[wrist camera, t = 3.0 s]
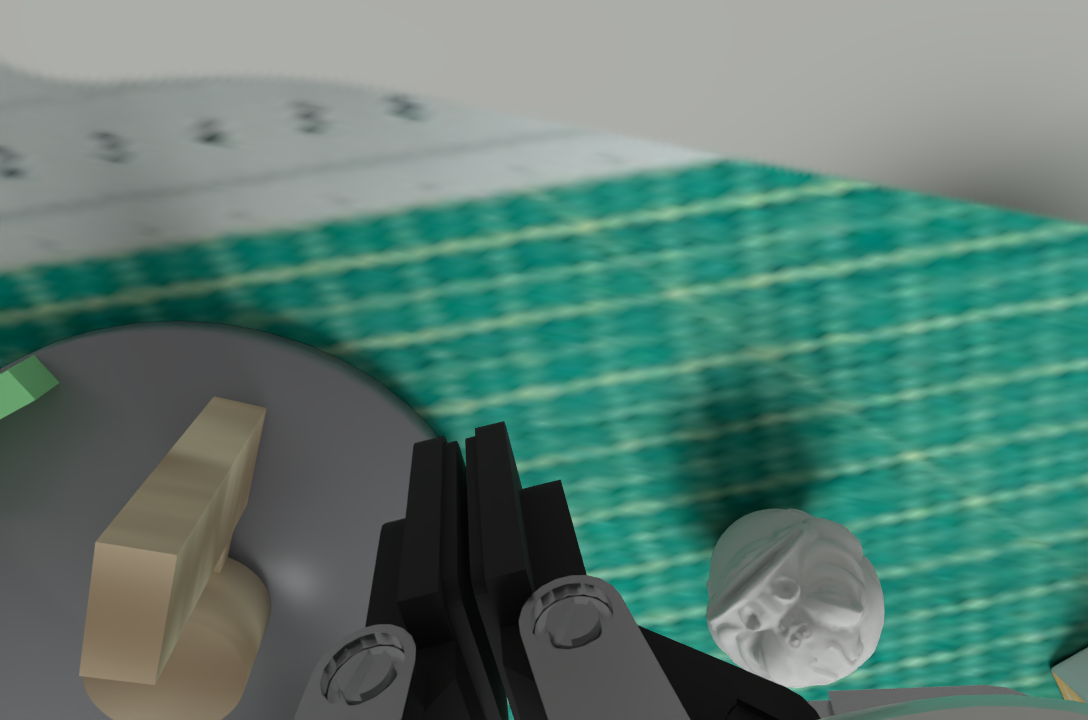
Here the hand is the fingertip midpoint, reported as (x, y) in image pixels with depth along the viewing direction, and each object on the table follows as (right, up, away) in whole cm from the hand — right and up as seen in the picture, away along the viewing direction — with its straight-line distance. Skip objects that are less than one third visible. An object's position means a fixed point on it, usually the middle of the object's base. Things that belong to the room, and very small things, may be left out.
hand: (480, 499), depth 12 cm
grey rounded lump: (+9, -4, +14) cm, 17 cm away
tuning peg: (-9, -3, +9) cm, 13 cm away
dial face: (-11, -5, +11) cm, 16 cm away
